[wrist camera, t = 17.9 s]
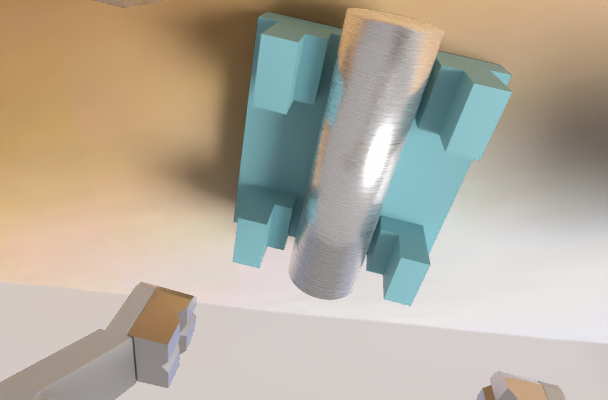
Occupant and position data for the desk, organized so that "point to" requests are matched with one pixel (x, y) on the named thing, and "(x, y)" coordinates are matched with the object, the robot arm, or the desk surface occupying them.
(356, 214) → the steel axle
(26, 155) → the desk surface
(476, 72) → the teal cradle
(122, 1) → the wooden bridge block
